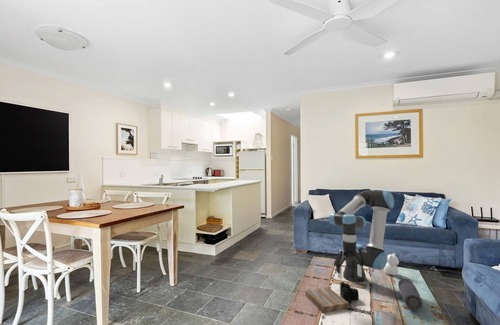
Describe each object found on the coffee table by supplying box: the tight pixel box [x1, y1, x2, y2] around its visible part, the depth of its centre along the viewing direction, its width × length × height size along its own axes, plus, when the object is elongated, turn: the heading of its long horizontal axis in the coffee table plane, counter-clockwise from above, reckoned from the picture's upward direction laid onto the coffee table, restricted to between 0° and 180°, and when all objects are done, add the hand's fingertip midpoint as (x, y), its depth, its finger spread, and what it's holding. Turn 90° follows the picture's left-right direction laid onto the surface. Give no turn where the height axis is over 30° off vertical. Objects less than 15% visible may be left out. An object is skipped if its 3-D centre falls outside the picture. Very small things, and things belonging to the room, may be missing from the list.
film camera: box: [339, 281, 360, 306], centre depth 151 cm, size 15×10×9 cm, turn 168°
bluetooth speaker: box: [397, 277, 423, 311], centre depth 147 cm, size 23×9×10 cm, turn 157°
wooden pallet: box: [305, 286, 350, 314], centre depth 148 cm, size 16×20×3 cm
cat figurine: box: [382, 252, 400, 276], centre depth 189 cm, size 9×12×15 cm
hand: (349, 277), depth 151 cm, fingers open, 13 cm apart
